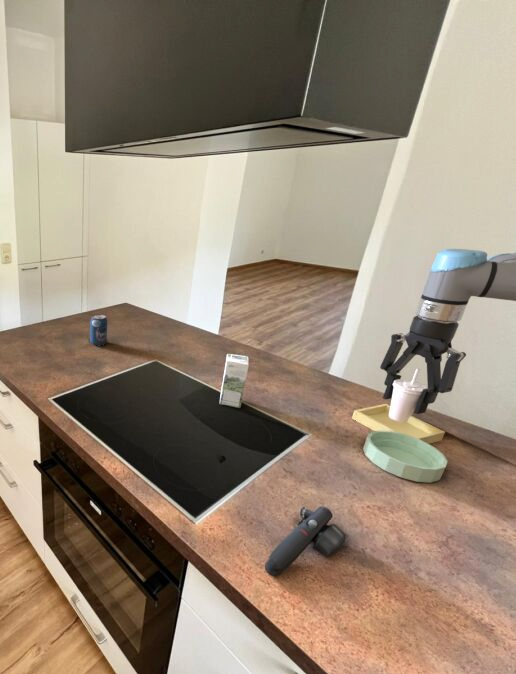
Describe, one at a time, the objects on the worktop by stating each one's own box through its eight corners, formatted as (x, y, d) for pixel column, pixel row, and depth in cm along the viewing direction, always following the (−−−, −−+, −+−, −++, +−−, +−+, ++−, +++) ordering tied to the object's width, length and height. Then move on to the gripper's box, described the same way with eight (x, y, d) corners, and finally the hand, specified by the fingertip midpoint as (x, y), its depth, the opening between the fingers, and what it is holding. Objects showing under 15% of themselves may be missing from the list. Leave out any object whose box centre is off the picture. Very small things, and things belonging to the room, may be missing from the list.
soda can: (98, 348, 146) (99, 320, 142) (86, 343, 151) (86, 316, 147) (110, 343, 150) (110, 316, 146) (97, 339, 155) (98, 312, 151)
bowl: (455, 476, 77) (463, 461, 76) (411, 490, 74) (418, 474, 73) (389, 439, 89) (394, 426, 88) (349, 450, 86) (353, 436, 84)
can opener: (308, 516, 68) (315, 493, 66) (349, 545, 63) (358, 521, 61) (246, 558, 61) (252, 533, 59) (287, 595, 55) (295, 570, 53)
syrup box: (240, 399, 108) (248, 355, 103) (240, 409, 103) (249, 363, 98) (220, 395, 110) (227, 352, 105) (219, 405, 105) (226, 360, 100)
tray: (441, 440, 89) (445, 431, 88) (407, 449, 86) (411, 440, 85) (382, 411, 101) (385, 403, 100) (351, 418, 98) (354, 410, 97)
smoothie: (420, 422, 90) (441, 372, 85) (405, 427, 88) (425, 377, 83) (391, 409, 96) (408, 361, 91) (376, 414, 94) (393, 366, 89)
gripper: (379, 308, 90) (353, 388, 98) (480, 334, 73) (438, 429, 81) (401, 305, 92) (374, 385, 100) (504, 330, 74) (461, 424, 83)
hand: (403, 404), depth 91 cm, fingers closed on smoothie, 6 cm apart
